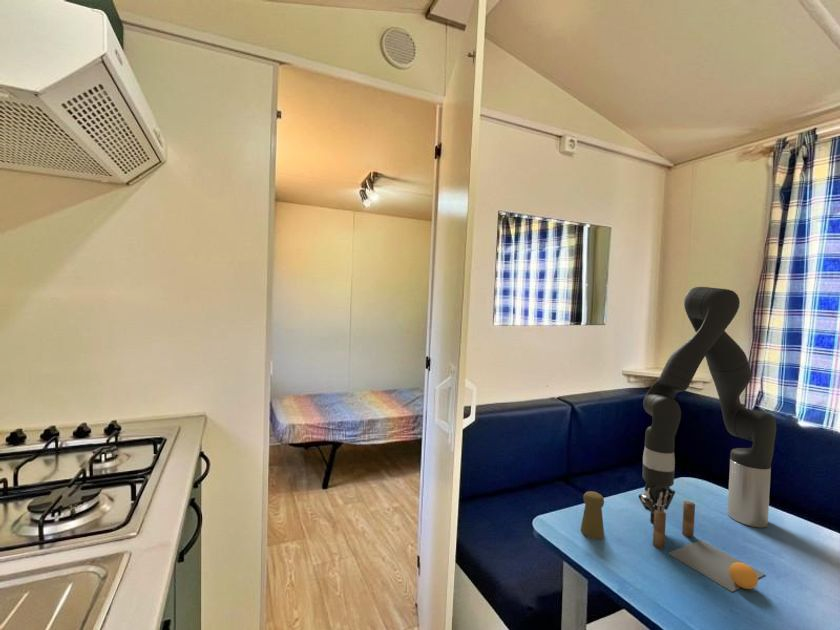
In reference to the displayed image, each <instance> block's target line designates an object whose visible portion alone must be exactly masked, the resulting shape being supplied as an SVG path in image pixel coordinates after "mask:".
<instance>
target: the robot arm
mask: <svg viewBox="0 0 840 630" xmlns="http://www.w3.org/2000/svg"><path fill="white" fill-rule="evenodd" d="M683 301H684V304H683V305H684V310H685V313H686V315H687V318H688V319H689V321H690V324H691V325H692V327H693V330H694V331H695V334H693V336H691V337H690V338H689V339H688V340H686V342H684V343H683V344H681V345H680V346H679V347H677V348H676V349H675V350H674V351H673V352H672V353H671V354H670V356H669V358H668V359H667V362H666V363H665V365H664V367H663V368H662V371H661V374H660V376H659V377H658V378H657V379H656V381H655V382H654V383H653V384H652V385H651V386H650V388H649V389H648V391H647V392H646V393H645V395H644V397H643V401H642V406H643V409H644V411H645V412H646V413H647V414H648V415H650V416H651V417H652V421H651V426H648V427H647V428H646V429H645V434H644V435H645V436H644V449H643V453H642V454H643V455H642V474H641V475H642V476H641V477H642V478H643V480H644V481H645V486H644V493H643V494H641V493H640V494H639V495H638V499H639V501H640V502H641V504H642V506H643V509H644V510H646V511H647V512H650V518H649V519H650V520H649V521H650V524H651V525H653V526H654V510H661V511H663V512H665V510H666V511H667V510H668V509H669V507H670V504H671V502H672V500H673V498H674V496H675V494H676V490H674V489H672V488H670V487H672V486H674V482H675V467H676V466H675V464H676V461H675V460H676V458H675V443H676V441H675V437H676V434H677V432H678V429H679V425H680V422H681V419H682V409H681V407H680V405H679V403H678V402H677V401H676V400H675V399H674V398H675V397H676V396H677V395H678V393H681V392H686V391H687V390H688V388H689V386H690V385H691V383H692V380H693V379H694V377H695V375H696V373H697V371H698V369H699V367H700V364H701V363H702V362H703V360H704V359H705V360H706V363H707V367H708V370H709V373H710V376H711V378H712V381H713V383H714V387H715V389H716V393H717V395H718V399H719V403H720V408H721V413H722V418H723V423H724V425H725V428H726V430H727V432H728V433H729V434H730V435H731V436H734V437H736V438H740V439H744V440H747V441H750V442H752V445H751V447H737V448H732V449H731V450H730V453H729V455H730V456H729V474H728V475H729V476H728V478H729V479H728V495H727V497H728V499H727V515H728V516H729V517H730V518H731V519H733V520H734V521H736V522H739V523H740V524H743V525H745V526H749V527H753V528H766V527H768V525H769V509H770V507H769V506H770V505H769V504H770V492H771V491H770V489H771V472H772V470H771V469H772V461H773V457H774V452H775V451H774V450H775V441H776V434H777V422H776V419H775V417H774V416H773V415H772V414H770V413H768V412H764V411H759V410H756V409H751V408H746V407H744V406H743V405H742V403H741V399H740V397H741V394H742V393H743V392H744V390H746V388H747V387H748V386H749V383H750V382H751V381H752V374H753V373H752V370H751V366H750V364H749V360H748V357H747V355H746V353H745V351H744V350H743V349H742V348H741V346H740V345H739V344H738V343H737V342H736V341H735V340H734V339H733V338H732V337H731V336H730V335H729V334H728V333H727V331H726V329H727V328H728V326H729V325H730V324H731V323H732V321H733V320H734V318H735V317H736V315H737V313H738V311H739V308H740V305H741V303H740V297H739V295H738V294H737V293H736V291H734V290H731V289H728V288H719V287H711V286H710V287H709V286H696V287H692V288H691V289H689V290H688V291H687V292H686V294H685V297H684V300H683Z"/></svg>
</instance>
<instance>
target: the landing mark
mask: <svg viewBox="0 0 840 630" xmlns="http://www.w3.org/2000/svg"><path fill="white" fill-rule="evenodd" d="M668 555H670V556H672V557H673V558H675V559H677V560H678V561H680V562H681V563H683V564H685V565H686V566H689V567H690V568H692V569H693V570H695V571H696V572H698V573H699V574H701V575H703V576H705V577H707V578H708V579H709V580H711V581H713V582H715V583H716V584H718V585H720V586H721V587H723V588H724V589H726V590H727V591H729V592H731V593H733V592H736V591H737V590H739V589H741V588H742V587H740V586H738V585H737V584H736V583H735V582H734V581H733V580H732V578H731V577H730V574H729V568H730V566H731V565H732V564H733V563H737V562H740V563H744V564H746V565H748V566H749V567H751V568H752V569H753V570H754V571H755V573H756V575H757V577H758V579H761V578H763V577H764V576H766V573H764V572H762V571H760V570H759V569H756V568H755V567H753V566H751V565H749V564H747V563H746V562H743V561H742V560H740V559H738V558H736V557H734V556H732V555H730V554H728V553H726V552H725V551H722V550H721V549H719V548H717V547H715V546H713V545H711V544H709V543H708V542H706V541H704V540H702V539H699V540H697V541H695V542H692V543H689V544H687V545H685V546H682V547H679V548H677V549H675V550H672V551H670V552H668Z"/></svg>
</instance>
